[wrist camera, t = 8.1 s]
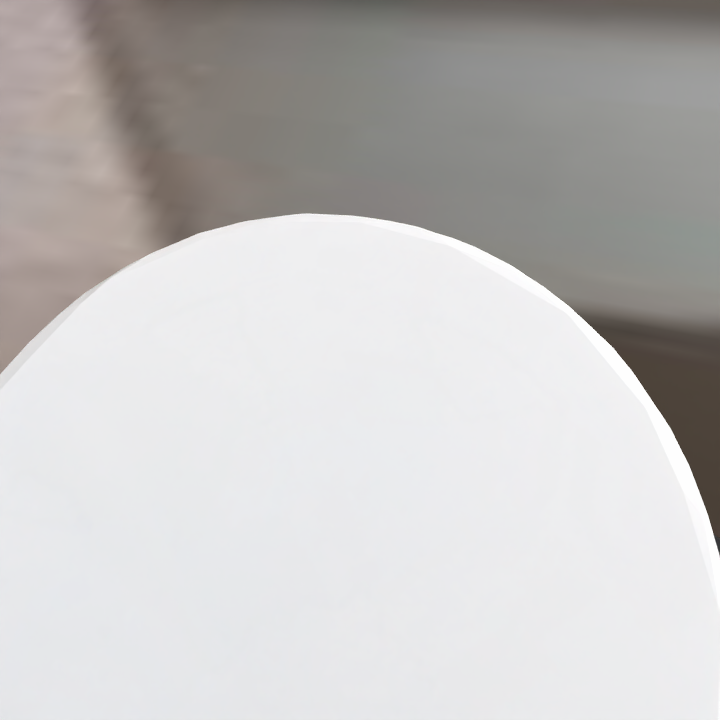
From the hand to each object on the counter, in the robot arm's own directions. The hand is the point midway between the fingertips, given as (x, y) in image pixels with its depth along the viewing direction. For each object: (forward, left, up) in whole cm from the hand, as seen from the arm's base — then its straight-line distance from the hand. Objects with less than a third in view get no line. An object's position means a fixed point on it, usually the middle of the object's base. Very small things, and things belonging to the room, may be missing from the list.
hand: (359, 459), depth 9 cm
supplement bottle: (-1, -1, -7) cm, 7 cm away
